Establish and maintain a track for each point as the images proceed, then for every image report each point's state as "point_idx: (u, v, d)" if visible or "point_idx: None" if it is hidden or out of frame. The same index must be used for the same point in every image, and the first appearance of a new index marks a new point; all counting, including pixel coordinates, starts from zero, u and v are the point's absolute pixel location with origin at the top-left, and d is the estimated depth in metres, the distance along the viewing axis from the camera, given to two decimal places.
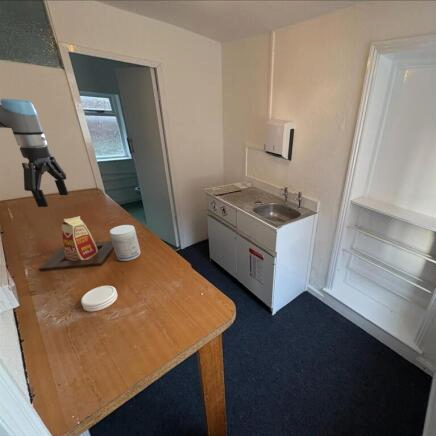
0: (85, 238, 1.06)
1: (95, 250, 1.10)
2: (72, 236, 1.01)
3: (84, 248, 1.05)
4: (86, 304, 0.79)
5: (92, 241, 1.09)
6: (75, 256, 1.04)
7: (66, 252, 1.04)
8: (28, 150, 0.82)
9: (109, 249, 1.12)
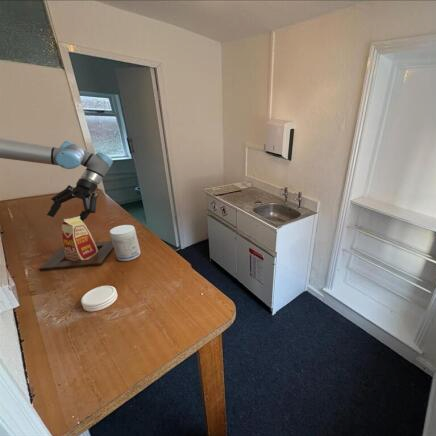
0: (85, 238, 1.06)
1: (95, 250, 1.10)
2: (72, 236, 1.01)
3: (84, 248, 1.05)
4: (86, 304, 0.79)
5: (92, 241, 1.09)
6: (75, 256, 1.04)
7: (66, 252, 1.04)
8: (95, 185, 1.15)
9: (109, 249, 1.12)
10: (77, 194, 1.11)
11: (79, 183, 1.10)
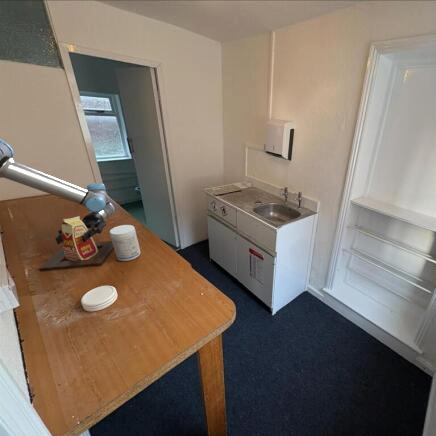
0: None
1: (95, 250, 1.10)
2: (72, 236, 1.01)
3: (83, 248, 1.05)
4: (86, 304, 0.79)
5: (92, 241, 1.09)
6: (75, 256, 1.04)
7: (66, 252, 1.04)
8: (102, 219, 1.20)
9: (109, 249, 1.12)
10: (85, 223, 1.13)
11: (89, 214, 1.16)
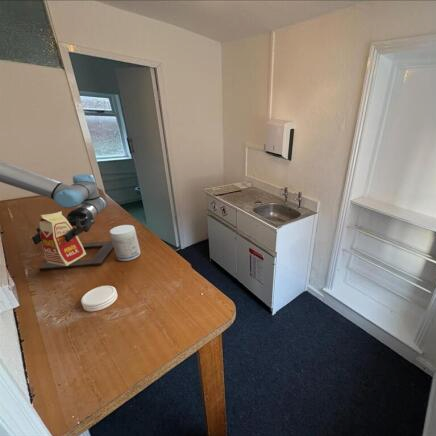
0: None
1: (81, 252, 0.94)
2: (52, 235, 0.84)
3: (67, 249, 0.89)
4: (86, 304, 0.79)
5: (78, 241, 0.92)
6: (57, 259, 0.88)
7: (46, 254, 0.88)
8: (91, 215, 1.04)
9: (109, 249, 1.12)
10: (70, 220, 0.96)
11: (75, 210, 0.99)
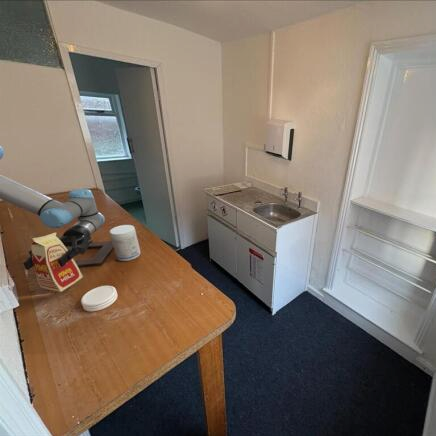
0: None
1: (78, 275, 0.87)
2: (45, 259, 0.78)
3: (62, 273, 0.82)
4: (86, 304, 0.79)
5: (73, 263, 0.86)
6: (50, 284, 0.81)
7: (39, 279, 0.81)
8: (89, 234, 0.97)
9: (109, 249, 1.12)
10: (65, 240, 0.90)
11: (71, 228, 0.93)
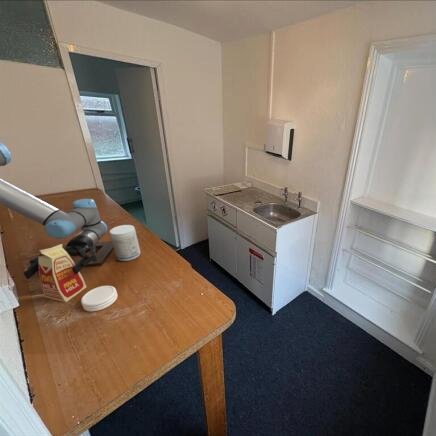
0: (69, 272, 0.85)
1: (82, 285, 0.89)
2: (51, 271, 0.80)
3: (67, 284, 0.84)
4: (86, 304, 0.79)
5: (78, 274, 0.88)
6: (56, 294, 0.83)
7: (45, 290, 0.83)
8: (92, 243, 0.99)
9: (109, 249, 1.12)
10: (69, 250, 0.91)
11: (75, 238, 0.95)
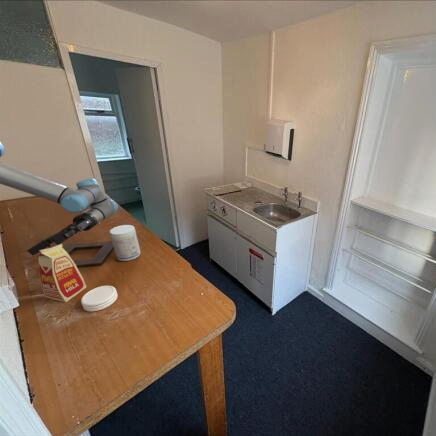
0: (69, 272, 0.85)
1: (82, 285, 0.89)
2: (51, 271, 0.80)
3: (67, 284, 0.84)
4: (86, 304, 0.79)
5: (78, 274, 0.88)
6: (56, 294, 0.83)
7: (45, 290, 0.83)
8: (92, 218, 1.04)
9: (109, 249, 1.12)
10: (69, 227, 0.98)
11: (75, 216, 1.01)
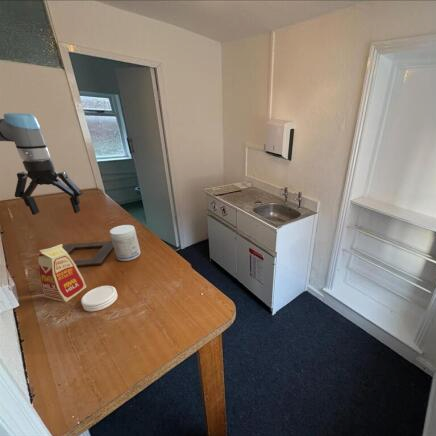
0: (69, 272, 0.85)
1: (82, 285, 0.89)
2: (51, 271, 0.80)
3: (67, 284, 0.84)
4: (86, 304, 0.79)
5: (78, 274, 0.88)
6: (56, 294, 0.83)
7: (45, 290, 0.83)
8: None
9: (109, 249, 1.12)
10: None
11: None
